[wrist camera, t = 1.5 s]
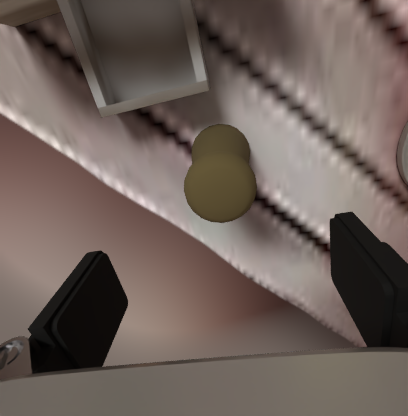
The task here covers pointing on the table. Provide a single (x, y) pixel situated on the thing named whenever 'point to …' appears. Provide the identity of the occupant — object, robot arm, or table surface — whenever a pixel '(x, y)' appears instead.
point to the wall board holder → (127, 47)
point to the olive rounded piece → (220, 175)
